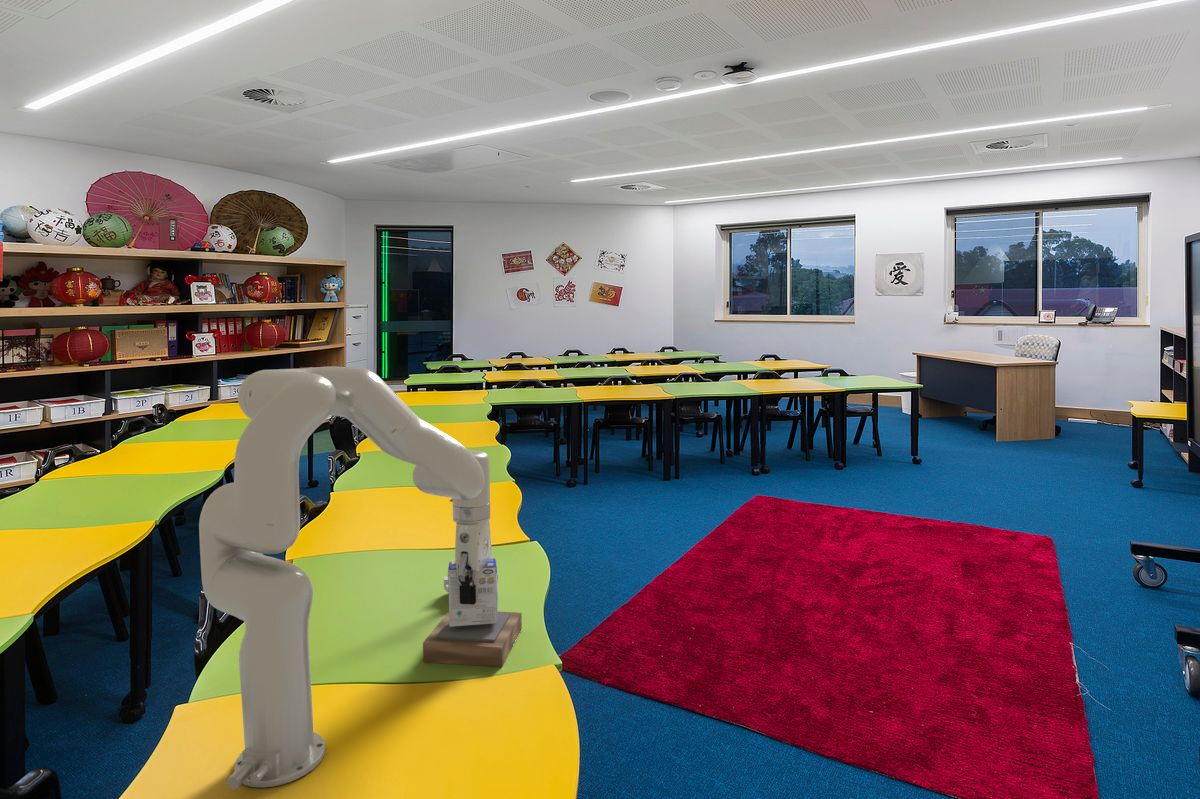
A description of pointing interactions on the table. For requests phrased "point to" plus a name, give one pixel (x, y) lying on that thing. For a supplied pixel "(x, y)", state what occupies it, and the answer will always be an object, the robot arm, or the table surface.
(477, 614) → the ink cartridge box
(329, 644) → the table surface
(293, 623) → the robot arm
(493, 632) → the walnut plinth
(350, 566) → the table surface
